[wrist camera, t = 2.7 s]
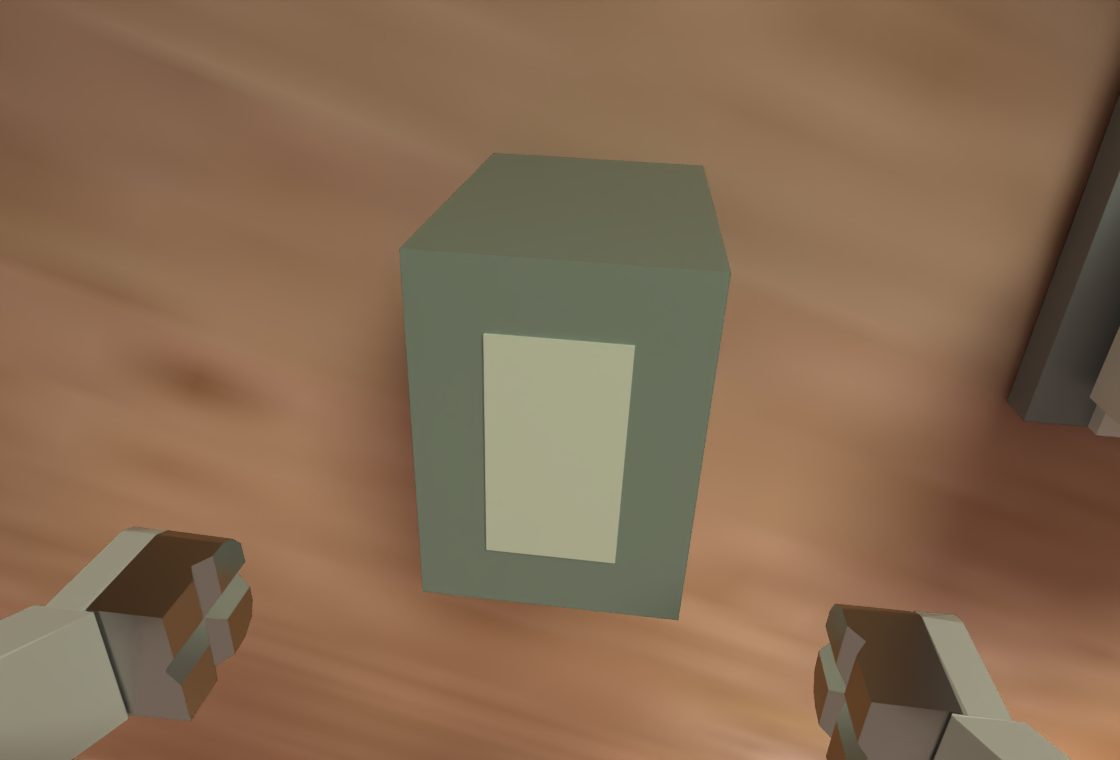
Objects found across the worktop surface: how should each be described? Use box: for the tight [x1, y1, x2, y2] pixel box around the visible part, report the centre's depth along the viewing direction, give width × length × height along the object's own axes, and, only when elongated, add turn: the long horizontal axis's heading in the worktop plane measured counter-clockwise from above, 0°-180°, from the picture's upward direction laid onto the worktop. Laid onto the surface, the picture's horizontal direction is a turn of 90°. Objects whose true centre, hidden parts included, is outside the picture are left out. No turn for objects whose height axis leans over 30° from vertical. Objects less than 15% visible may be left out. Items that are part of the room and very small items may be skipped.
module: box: [399, 153, 731, 620], centre depth 16 cm, size 7×5×8 cm
